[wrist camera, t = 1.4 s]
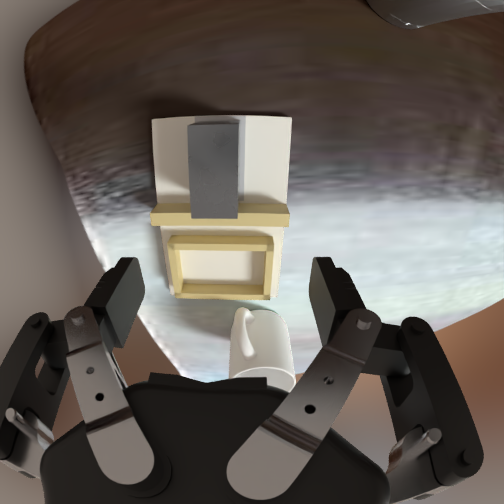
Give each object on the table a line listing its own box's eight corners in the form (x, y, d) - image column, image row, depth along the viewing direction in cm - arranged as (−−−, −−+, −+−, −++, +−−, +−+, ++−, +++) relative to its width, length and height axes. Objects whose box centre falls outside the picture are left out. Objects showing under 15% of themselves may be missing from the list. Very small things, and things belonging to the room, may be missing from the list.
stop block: (199, 121, 25) (187, 125, 19) (240, 120, 25) (238, 124, 20) (201, 196, 29) (191, 218, 24) (239, 196, 29) (237, 219, 24)
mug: (210, 297, 37) (202, 357, 28) (269, 279, 36) (276, 339, 27) (243, 350, 43) (243, 405, 34) (293, 337, 41) (302, 393, 32)
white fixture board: (154, 118, 25) (142, 121, 22) (290, 117, 26) (296, 119, 22) (172, 290, 36) (166, 308, 33) (276, 292, 37) (279, 311, 33)
